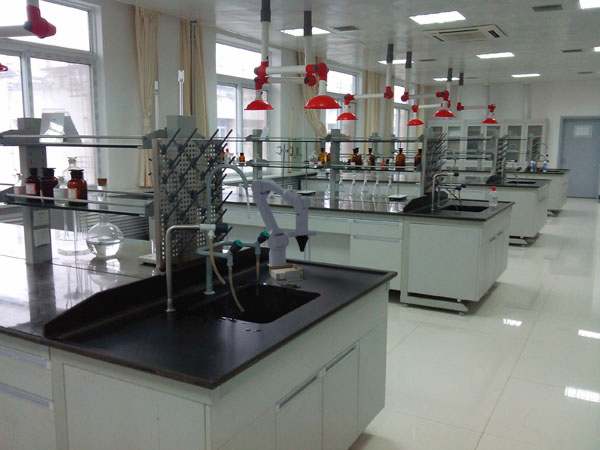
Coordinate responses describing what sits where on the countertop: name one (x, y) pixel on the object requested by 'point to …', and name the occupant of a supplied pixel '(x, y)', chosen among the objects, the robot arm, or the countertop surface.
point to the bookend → (293, 275)
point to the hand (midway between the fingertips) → (301, 251)
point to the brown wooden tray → (286, 267)
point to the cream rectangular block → (280, 273)
